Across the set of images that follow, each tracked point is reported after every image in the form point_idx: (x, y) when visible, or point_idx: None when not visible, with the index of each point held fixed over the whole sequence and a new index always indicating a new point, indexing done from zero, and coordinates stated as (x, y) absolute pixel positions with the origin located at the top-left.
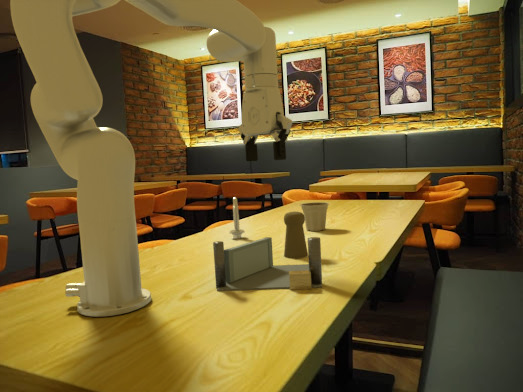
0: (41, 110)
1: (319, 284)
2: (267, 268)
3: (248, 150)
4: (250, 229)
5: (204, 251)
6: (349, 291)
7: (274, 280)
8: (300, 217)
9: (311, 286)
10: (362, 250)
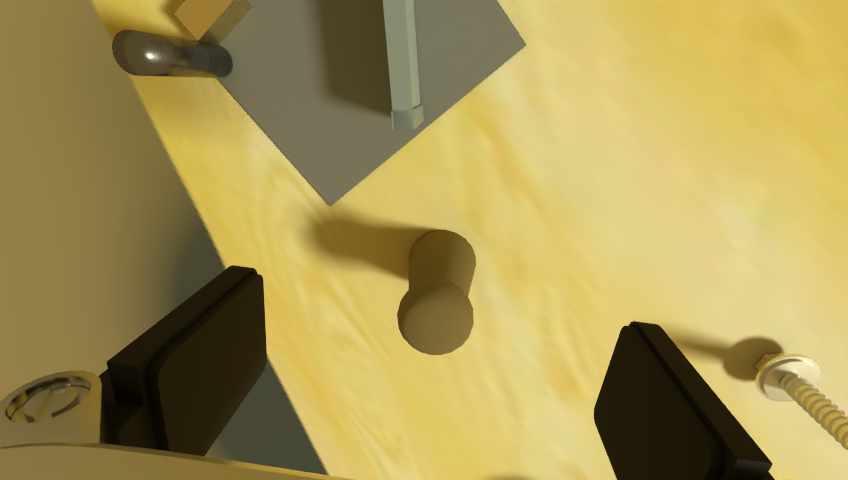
0: None
1: None
2: None
3: (670, 402)
4: (805, 475)
5: (770, 170)
6: None
7: (311, 13)
8: (399, 312)
9: None
10: (330, 369)
